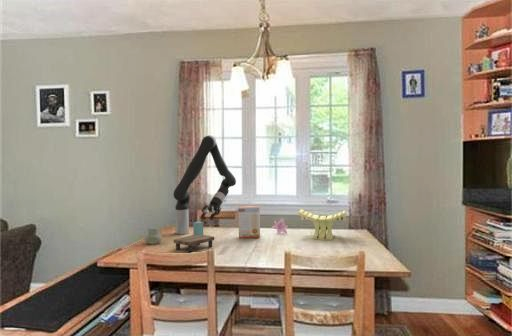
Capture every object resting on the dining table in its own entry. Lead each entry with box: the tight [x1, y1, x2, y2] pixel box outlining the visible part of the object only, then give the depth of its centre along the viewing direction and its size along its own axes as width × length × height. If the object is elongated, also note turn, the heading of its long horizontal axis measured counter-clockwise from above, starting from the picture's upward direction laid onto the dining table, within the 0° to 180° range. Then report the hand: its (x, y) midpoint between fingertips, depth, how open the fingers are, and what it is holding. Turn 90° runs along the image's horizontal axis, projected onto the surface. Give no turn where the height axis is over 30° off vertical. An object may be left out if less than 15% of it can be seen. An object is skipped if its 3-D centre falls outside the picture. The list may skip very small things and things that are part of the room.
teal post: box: [192, 221, 204, 235], centre depth 265 cm, size 4×4×12 cm
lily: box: [271, 217, 289, 235], centre depth 286 cm, size 12×12×10 cm
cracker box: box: [237, 205, 261, 239], centre depth 273 cm, size 14×6×21 cm, turn 84°
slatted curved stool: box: [297, 208, 347, 241], centre depth 271 cm, size 30×16×18 cm, turn 75°
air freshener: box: [144, 226, 163, 245], centre depth 258 cm, size 11×8×10 cm
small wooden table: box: [173, 234, 215, 253], centre depth 244 cm, size 14×20×6 cm
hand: (206, 218), depth 270 cm, fingers open, 8 cm apart
